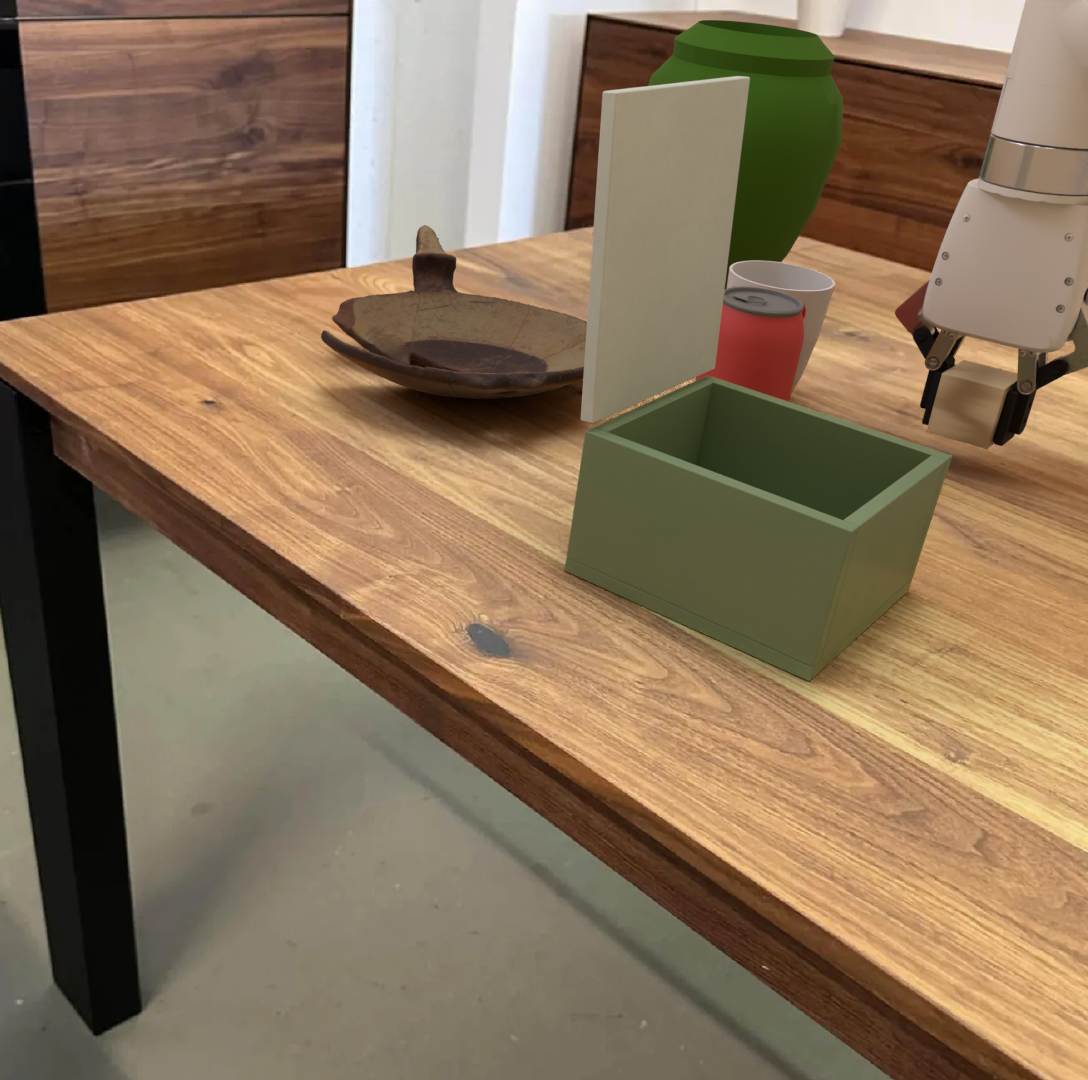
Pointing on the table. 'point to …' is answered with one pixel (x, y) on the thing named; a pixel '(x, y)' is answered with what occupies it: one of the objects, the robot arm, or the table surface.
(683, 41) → the vase
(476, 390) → the oil lamp
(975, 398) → the block
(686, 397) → the open green box
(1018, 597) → the table surface
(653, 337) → the grey box lid
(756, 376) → the beer can
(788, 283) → the cup
